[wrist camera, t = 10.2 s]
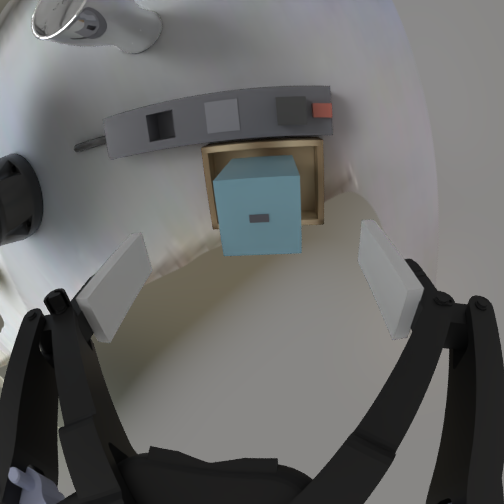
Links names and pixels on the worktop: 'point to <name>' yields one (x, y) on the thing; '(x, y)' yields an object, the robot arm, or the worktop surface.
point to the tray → (301, 148)
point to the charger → (259, 206)
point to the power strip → (218, 119)
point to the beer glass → (96, 24)
